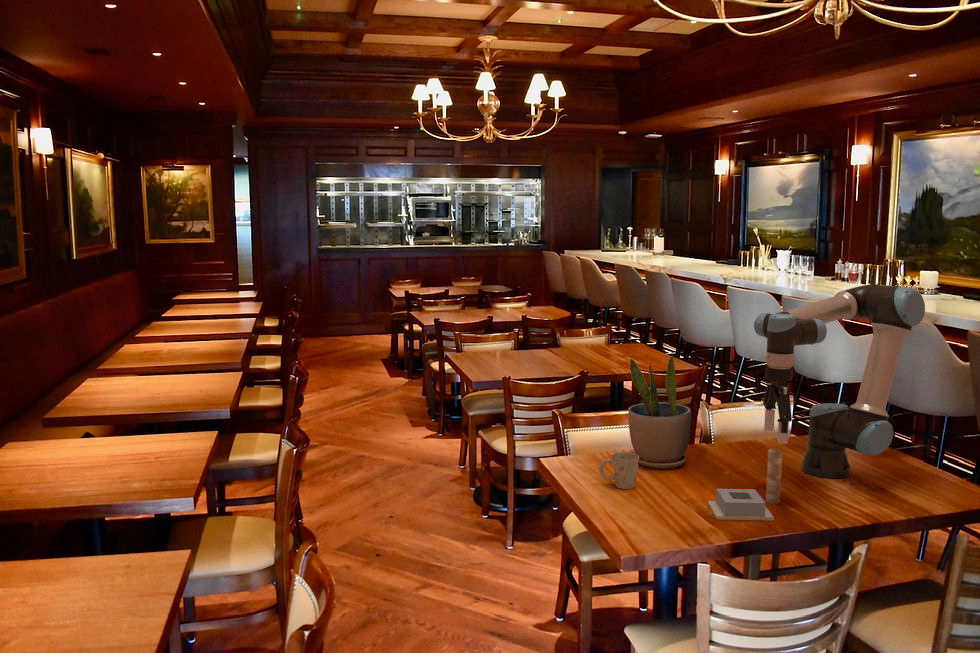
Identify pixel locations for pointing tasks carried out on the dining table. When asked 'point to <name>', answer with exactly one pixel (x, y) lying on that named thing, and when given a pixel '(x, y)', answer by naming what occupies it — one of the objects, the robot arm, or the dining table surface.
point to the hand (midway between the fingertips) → (775, 436)
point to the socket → (739, 505)
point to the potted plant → (658, 422)
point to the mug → (623, 469)
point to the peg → (774, 476)
